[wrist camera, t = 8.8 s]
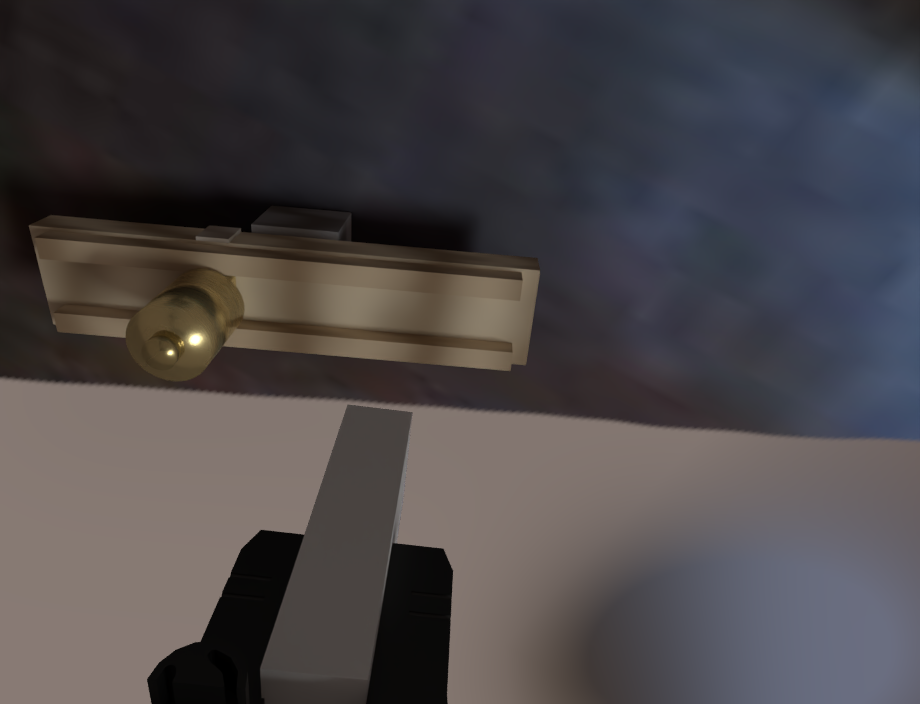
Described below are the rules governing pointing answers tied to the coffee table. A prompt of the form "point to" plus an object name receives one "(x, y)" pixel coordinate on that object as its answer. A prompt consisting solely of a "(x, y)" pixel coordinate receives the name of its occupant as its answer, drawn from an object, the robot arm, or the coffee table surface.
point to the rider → (185, 324)
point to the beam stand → (298, 287)
